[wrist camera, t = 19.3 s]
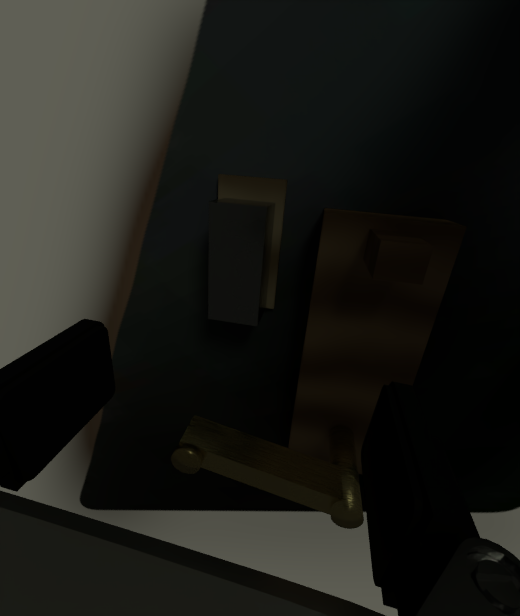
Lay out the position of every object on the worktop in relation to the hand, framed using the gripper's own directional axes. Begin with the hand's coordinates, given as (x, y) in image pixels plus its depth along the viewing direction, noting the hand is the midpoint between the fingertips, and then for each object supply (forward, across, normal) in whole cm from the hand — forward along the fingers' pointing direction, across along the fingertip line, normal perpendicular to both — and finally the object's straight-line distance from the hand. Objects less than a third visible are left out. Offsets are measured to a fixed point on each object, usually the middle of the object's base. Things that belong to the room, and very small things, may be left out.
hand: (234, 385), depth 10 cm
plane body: (+20, -7, +9) cm, 24 cm away
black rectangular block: (+20, +4, +1) cm, 20 cm away
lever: (+16, -1, +16) cm, 23 cm away
